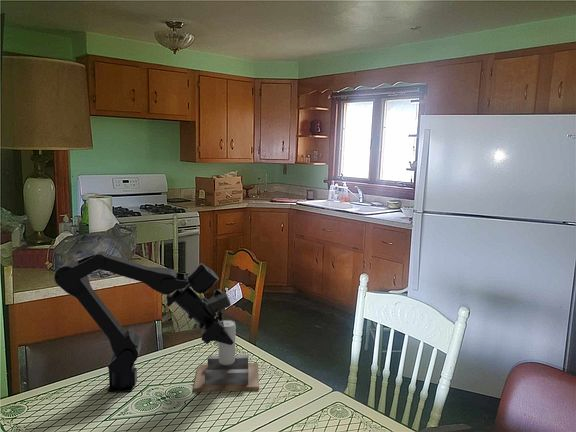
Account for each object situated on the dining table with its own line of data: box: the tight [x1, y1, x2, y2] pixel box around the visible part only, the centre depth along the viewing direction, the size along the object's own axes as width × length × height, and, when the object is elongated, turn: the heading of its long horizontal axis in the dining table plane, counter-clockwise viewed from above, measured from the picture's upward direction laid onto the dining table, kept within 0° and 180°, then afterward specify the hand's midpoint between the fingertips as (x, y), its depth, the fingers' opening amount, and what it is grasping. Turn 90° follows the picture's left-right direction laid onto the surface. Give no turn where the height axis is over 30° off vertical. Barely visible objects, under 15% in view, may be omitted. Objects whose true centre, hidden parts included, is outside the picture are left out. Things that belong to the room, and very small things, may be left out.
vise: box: [193, 354, 260, 393], centre depth 136 cm, size 18×15×4 cm
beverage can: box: [218, 319, 237, 365], centre depth 134 cm, size 5×5×12 cm
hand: (231, 340), depth 134 cm, fingers closed on beverage can, 5 cm apart
